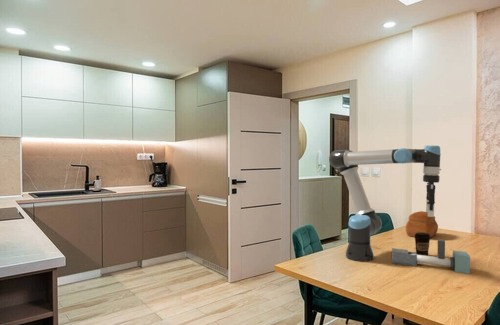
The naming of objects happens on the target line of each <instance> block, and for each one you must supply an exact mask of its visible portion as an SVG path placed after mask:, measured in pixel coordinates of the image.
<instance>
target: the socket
mask: <svg viewBox="0 0 500 325" xmlns="http://www.w3.org/2000/svg"><path fill="white" fill-rule="evenodd" d="M452 257H454V259H455V267H454V268H453V271H454V273H457V274H458V273H460V274H465V275H466V274H468V275H470V274H471V256H470V255H469V253H468V252H467V251H463V250H452Z"/></svg>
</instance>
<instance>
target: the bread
mask: <svg viewBox="0 0 500 325" xmlns="http://www.w3.org/2000/svg"><path fill="white" fill-rule="evenodd" d="M438 228H439V225H438V223H437V221H436V216H435V215H434V217H428V212H426V211H423V210H421V211H420V210H419V211H416V212H412V214H410V215H409V216H408V221H407V222H406V225H405V232H406V235H407V236H409V237H412V238H415V234H416V233H418V232H423V233H428V234H429V235H430V236H431V237H430V238H432V237H433V236H436V235H437V233H438V231H439V230H438Z"/></svg>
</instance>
